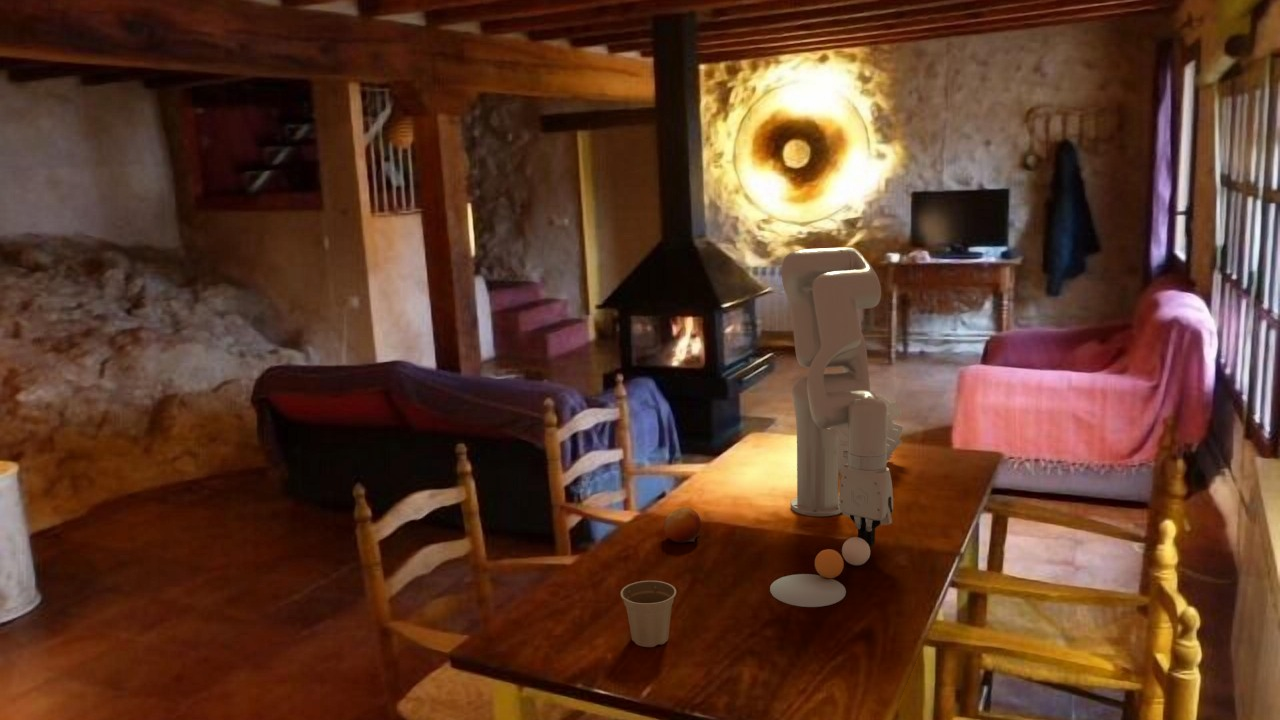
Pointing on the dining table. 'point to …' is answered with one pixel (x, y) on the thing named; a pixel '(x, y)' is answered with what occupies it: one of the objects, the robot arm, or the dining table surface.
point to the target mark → (807, 590)
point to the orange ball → (829, 563)
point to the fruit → (682, 525)
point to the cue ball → (856, 551)
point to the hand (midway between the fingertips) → (866, 546)
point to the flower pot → (649, 611)
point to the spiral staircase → (892, 433)
